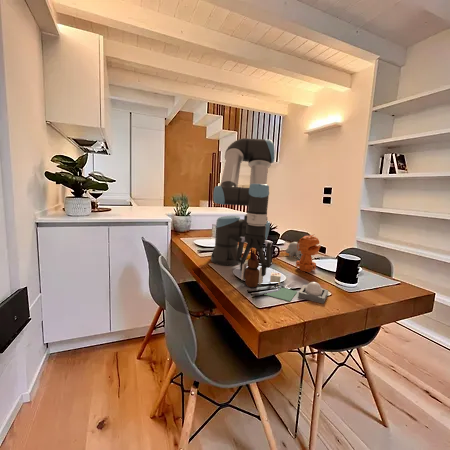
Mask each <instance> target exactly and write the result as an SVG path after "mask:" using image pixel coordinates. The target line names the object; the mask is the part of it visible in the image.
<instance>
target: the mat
mask: <svg viewBox="0 0 450 450" xmlns="http://www.w3.org/2000/svg"><path fill="white" fill-rule="evenodd" d="M297 293H298V291H297V290H292V289H289V288H285V287H281V289H280V290H279V291H277V292H272V293H267V294H264V293H263V294H264V296H268V297H271V298H274V299H278V300H283V301H285V302H291V301H293V299H294V297H295V296H296V295H297Z"/></svg>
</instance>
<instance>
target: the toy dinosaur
mask: <svg viewBox="0 0 450 450" xmlns="http://www.w3.org/2000/svg"><path fill="white" fill-rule="evenodd" d="M298 243H299V244H298ZM319 244H320V241H319V238H318V237H316V236H314V234H310V235H304V236H303V237H301V238H299V240H298V241H297V249H298V245H299V249H298V251H301V254H303V255H302V256H301V258H300V259H299V260H296V262H295V265H296V267H295V268H299V270H300V271H302V272H307V273H310V272H312V271H313V270H314V271H316V269H317V263H316V262H315V261H313V258H312V256H315V255H316V254H317V253H319V251H320V249H321V247H322V246H321V245H319Z"/></svg>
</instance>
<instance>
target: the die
mask: <svg viewBox="0 0 450 450" xmlns="http://www.w3.org/2000/svg"><path fill="white" fill-rule="evenodd" d="M281 277H282V273H281V272H270V277H269V279H270V280H269V283H270V282H279V283H278V285H280V286H281Z"/></svg>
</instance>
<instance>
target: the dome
mask: <svg viewBox="0 0 450 450" xmlns="http://www.w3.org/2000/svg"><path fill="white" fill-rule="evenodd" d="M305 285H306V288H305V292H304V293H308V294H312V295H316V296H321V297H322V290H323V289H324V288H322V287H321V286H322V285H320V283H318V282H316V281H310V282H309V283H307V284H305Z"/></svg>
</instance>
